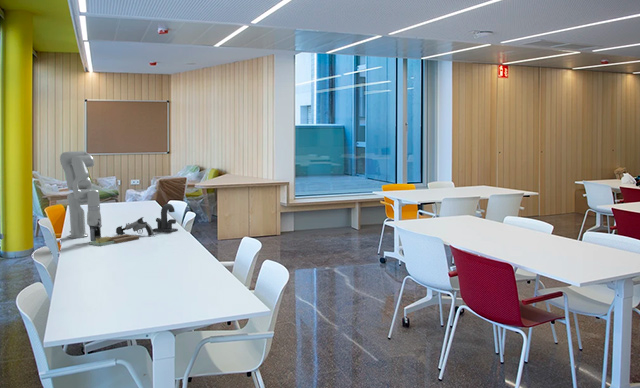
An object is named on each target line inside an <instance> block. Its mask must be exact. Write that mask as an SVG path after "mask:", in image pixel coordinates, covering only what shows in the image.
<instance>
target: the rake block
mask: <svg viewBox="0 0 640 388" xmlns="http://www.w3.org/2000/svg"><path fill="white" fill-rule="evenodd" d="M96 226H97V225H96ZM97 227H98V226H97ZM89 235H90V242H91V241H96V238H101V237H102V231H101V228H100V236H95V226H90V227H89Z"/></svg>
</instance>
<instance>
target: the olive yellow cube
mask: <svg viewBox="0 0 640 388" xmlns="http://www.w3.org/2000/svg"><path fill="white" fill-rule="evenodd" d="M101 237H102V238H105V242H110V241H111V240H110V237H111V236H107V235H106V236H101Z"/></svg>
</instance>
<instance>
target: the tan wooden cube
mask: <svg viewBox="0 0 640 388" xmlns="http://www.w3.org/2000/svg"><path fill="white" fill-rule="evenodd" d="M102 237H103V236H101V238H96V243H104V242H105V238H102Z"/></svg>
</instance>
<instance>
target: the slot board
mask: <svg viewBox="0 0 640 388" xmlns="http://www.w3.org/2000/svg"><path fill="white" fill-rule="evenodd" d="M109 237H110V240H111V241H115V243H114V244H120V243H126V242H131V241H136V240H137V241H138V240H140V236H139V235H134V234H127V233H125V234H120V235H115V236H109Z"/></svg>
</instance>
